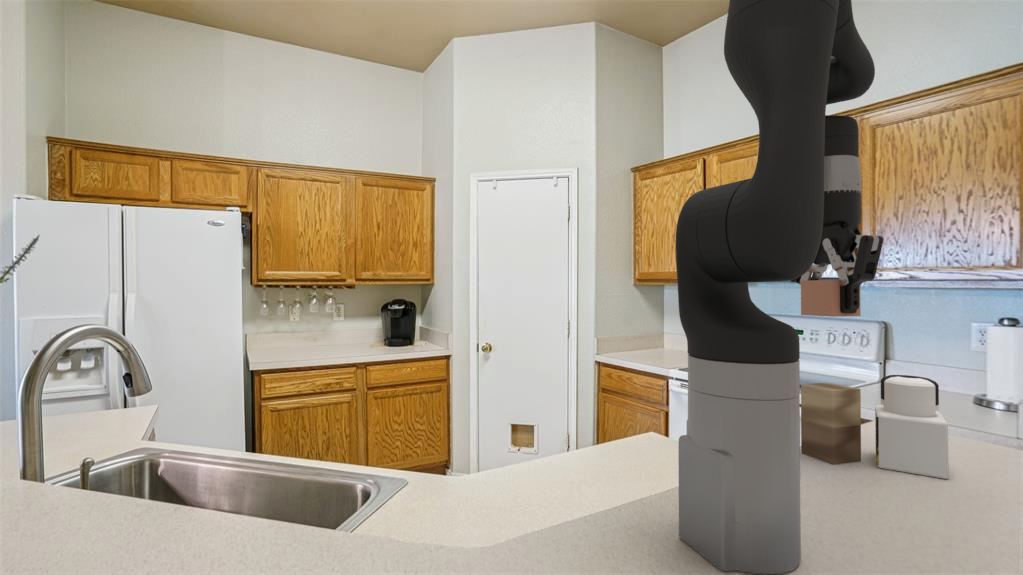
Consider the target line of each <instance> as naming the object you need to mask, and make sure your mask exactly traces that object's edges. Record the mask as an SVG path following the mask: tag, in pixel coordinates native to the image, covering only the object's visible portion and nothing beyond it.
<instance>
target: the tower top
mask: <svg viewBox="0 0 1023 575" xmlns="http://www.w3.org/2000/svg"><path fill="white" fill-rule="evenodd" d="M861 397H862V396H861V388H858V387H853V386H847V385H843V384H842V385H841V384H837V383H831V382H817V383H815V382H814V383H803V384H802V383H801V384H800V420H801V419H804V420H807V421H811V422H814V423H818V424H821V425H824V426H828V427H831V428H837V427H847V426H858V425H861V426H862V420H861V419H862V418H861V417H862V416H861V415H862V414H861V413H862V411H861V410H862V409H861V401H862V400H861V399H862V398H861Z"/></svg>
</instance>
